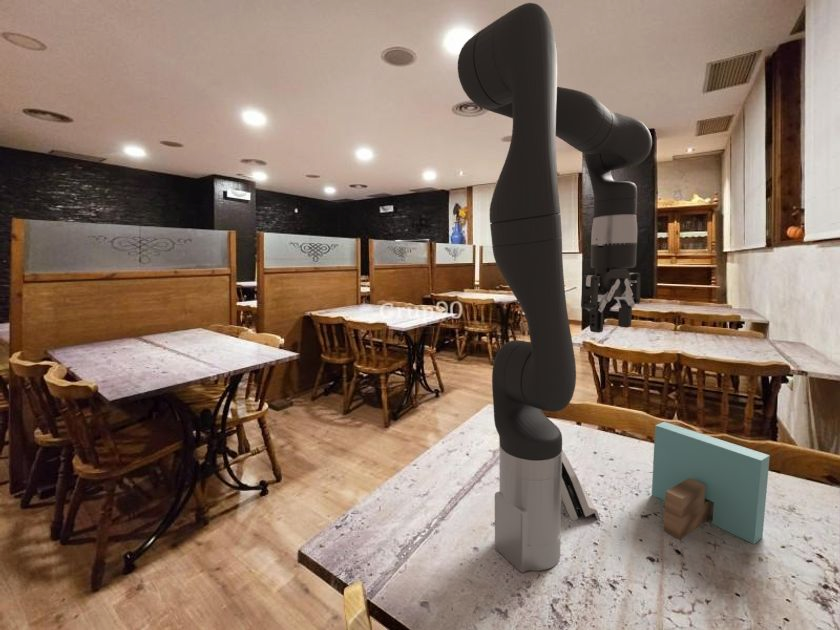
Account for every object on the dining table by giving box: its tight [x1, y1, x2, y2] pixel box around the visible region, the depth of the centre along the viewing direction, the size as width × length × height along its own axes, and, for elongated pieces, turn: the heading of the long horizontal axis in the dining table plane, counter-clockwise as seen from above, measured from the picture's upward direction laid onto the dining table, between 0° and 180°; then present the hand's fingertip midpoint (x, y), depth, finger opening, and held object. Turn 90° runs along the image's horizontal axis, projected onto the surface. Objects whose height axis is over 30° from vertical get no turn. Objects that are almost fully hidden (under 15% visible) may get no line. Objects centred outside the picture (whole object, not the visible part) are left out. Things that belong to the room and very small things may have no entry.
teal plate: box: [651, 421, 771, 545], centre depth 69 cm, size 16×3×14 cm, turn 30°
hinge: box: [561, 449, 601, 521], centre depth 77 cm, size 17×5×10 cm, turn 176°
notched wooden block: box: [663, 478, 714, 540], centre depth 69 cm, size 20×2×7 cm, turn 120°
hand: (610, 329), depth 74 cm, fingers open, 8 cm apart
